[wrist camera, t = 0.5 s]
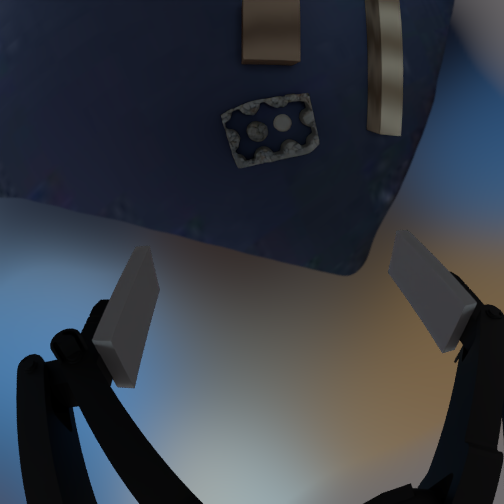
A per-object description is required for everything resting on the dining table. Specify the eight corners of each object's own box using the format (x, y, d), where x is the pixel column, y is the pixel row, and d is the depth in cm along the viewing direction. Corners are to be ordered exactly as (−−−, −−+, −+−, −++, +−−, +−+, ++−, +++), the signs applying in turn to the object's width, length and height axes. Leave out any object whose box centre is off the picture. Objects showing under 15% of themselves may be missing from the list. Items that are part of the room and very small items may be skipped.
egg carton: (304, 90, 33) (313, 90, 30) (315, 147, 37) (324, 152, 33) (219, 108, 34) (218, 109, 30) (234, 164, 37) (234, 172, 34)
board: (361, -30, 24) (373, -39, 21) (381, -25, 24) (394, -33, 21) (366, 129, 36) (380, 134, 32) (386, 131, 36) (400, 136, 32)
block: (241, 6, 27) (243, -6, 23) (291, 9, 28) (299, -3, 23) (241, 64, 31) (243, 59, 27) (291, 65, 32) (300, 61, 27)
